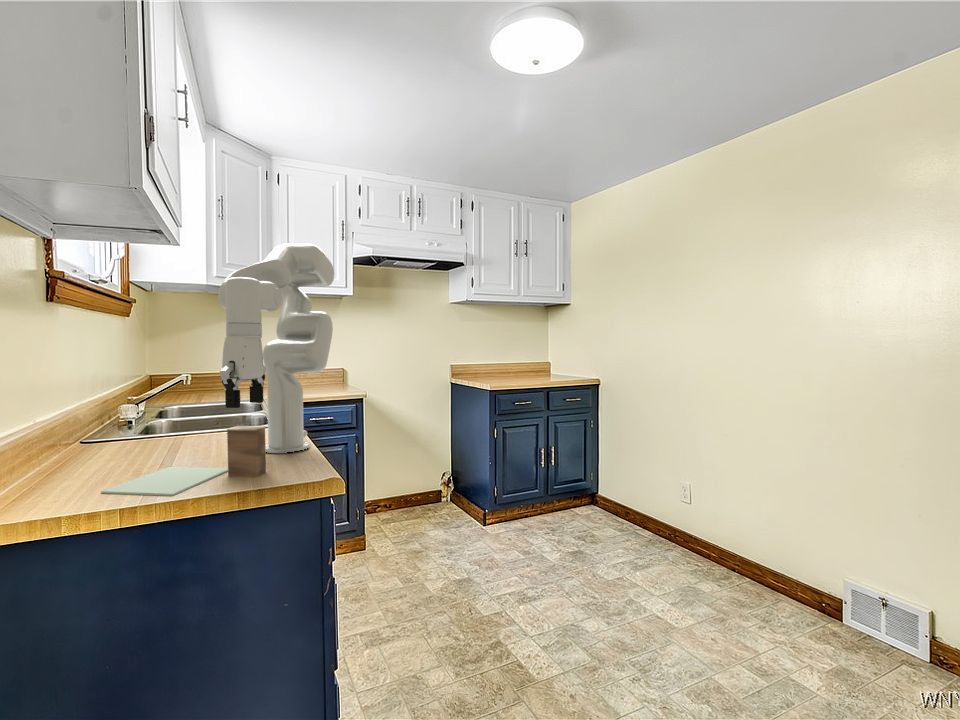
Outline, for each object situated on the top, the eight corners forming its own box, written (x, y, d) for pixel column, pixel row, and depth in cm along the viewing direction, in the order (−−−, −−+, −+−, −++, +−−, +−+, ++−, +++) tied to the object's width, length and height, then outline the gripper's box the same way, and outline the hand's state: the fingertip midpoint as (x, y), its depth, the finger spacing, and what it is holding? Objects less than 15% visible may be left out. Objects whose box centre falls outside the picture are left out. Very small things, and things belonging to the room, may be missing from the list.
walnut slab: (238, 471, 123) (237, 425, 122) (265, 472, 122) (264, 426, 121) (228, 476, 119) (227, 428, 118) (256, 477, 118) (255, 429, 117)
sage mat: (169, 468, 125) (169, 466, 125) (230, 470, 124) (230, 468, 124) (100, 493, 106) (100, 491, 106) (172, 495, 104) (172, 493, 104)
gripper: (249, 332, 127) (250, 400, 128) (205, 330, 110) (206, 409, 111) (278, 332, 127) (279, 401, 127) (237, 330, 110) (239, 410, 110)
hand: (245, 405), depth 119 cm, fingers open, 9 cm apart
